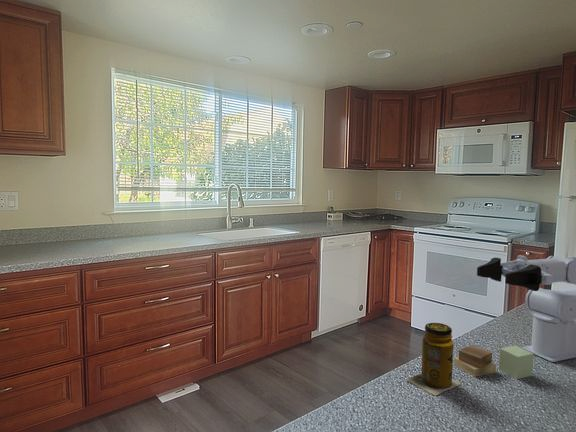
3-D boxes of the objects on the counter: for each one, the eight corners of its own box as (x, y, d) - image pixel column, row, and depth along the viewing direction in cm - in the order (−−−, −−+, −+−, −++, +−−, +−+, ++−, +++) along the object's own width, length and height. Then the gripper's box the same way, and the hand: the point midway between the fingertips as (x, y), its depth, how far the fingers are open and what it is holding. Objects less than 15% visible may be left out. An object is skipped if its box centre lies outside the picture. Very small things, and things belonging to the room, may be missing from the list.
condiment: (461, 384, 81) (463, 328, 80) (435, 396, 76) (437, 337, 75) (431, 370, 87) (432, 318, 86) (405, 380, 83) (407, 325, 82)
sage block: (514, 366, 89) (515, 345, 88) (532, 376, 85) (533, 353, 84) (499, 369, 87) (500, 348, 87) (516, 379, 83) (517, 356, 83)
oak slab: (474, 362, 92) (474, 353, 92) (495, 374, 86) (496, 365, 86) (454, 366, 90) (454, 357, 90) (474, 379, 84) (474, 369, 84)
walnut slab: (470, 354, 91) (470, 345, 91) (491, 361, 87) (492, 352, 87) (458, 359, 89) (458, 350, 88) (480, 368, 84) (480, 358, 84)
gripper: (510, 250, 98) (467, 252, 94) (568, 260, 85) (522, 263, 80) (508, 277, 99) (466, 281, 94) (566, 292, 85) (520, 297, 81)
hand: (491, 275), depth 87 cm, fingers open, 7 cm apart
